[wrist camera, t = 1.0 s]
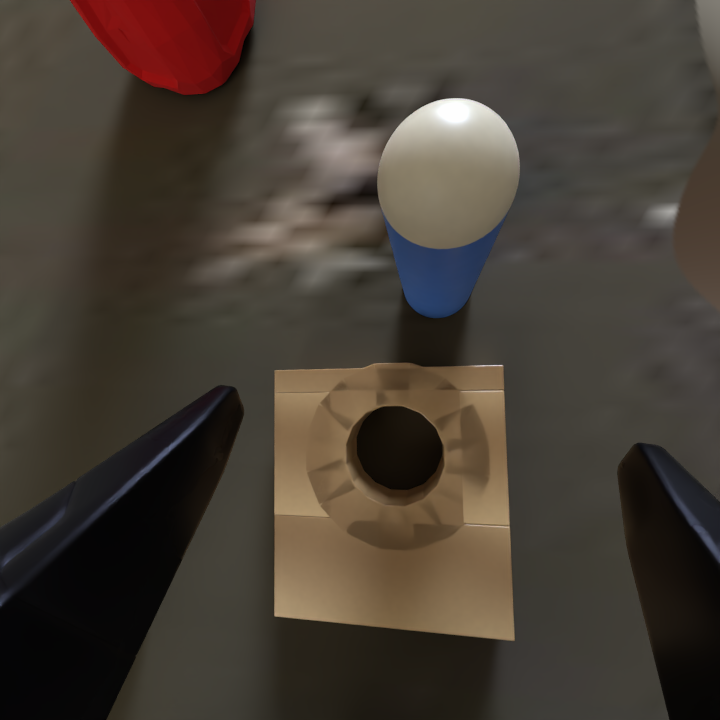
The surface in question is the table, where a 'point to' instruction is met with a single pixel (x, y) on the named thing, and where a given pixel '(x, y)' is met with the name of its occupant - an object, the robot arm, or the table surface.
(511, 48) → the table surface
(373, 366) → the holder
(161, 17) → the water bottle
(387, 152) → the white topped blue rod
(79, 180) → the table surface
